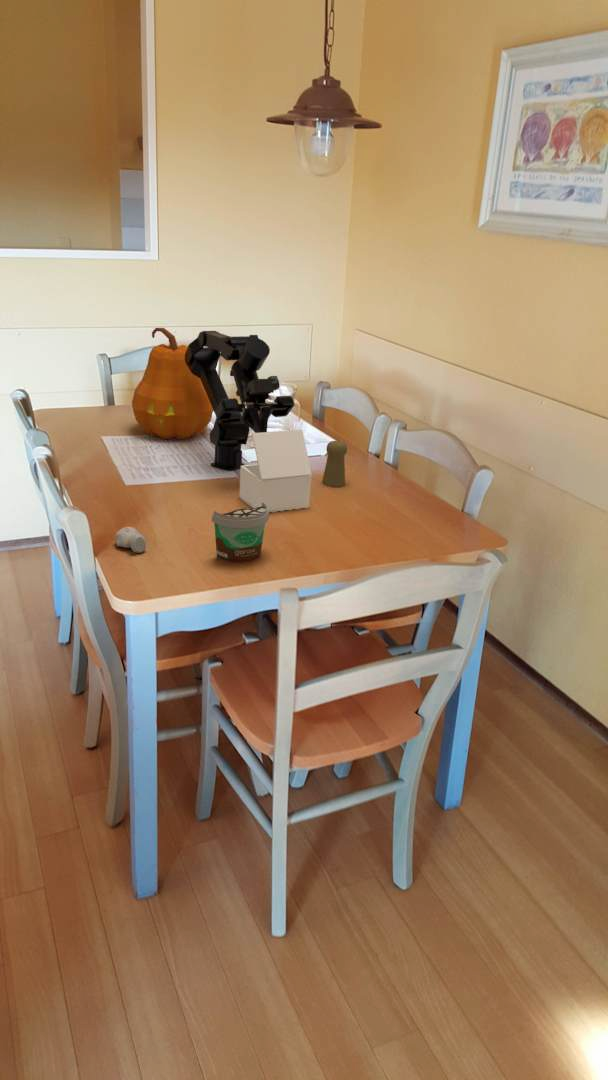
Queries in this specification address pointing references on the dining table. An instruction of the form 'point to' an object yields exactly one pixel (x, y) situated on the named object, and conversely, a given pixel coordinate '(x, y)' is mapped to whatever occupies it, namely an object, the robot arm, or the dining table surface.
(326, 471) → the cork
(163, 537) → the dining table surface
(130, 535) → the grey rounded lumpy piece
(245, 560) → the food container
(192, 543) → the dining table surface
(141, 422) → the decorative pumpkin
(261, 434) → the carton flap
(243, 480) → the carton
